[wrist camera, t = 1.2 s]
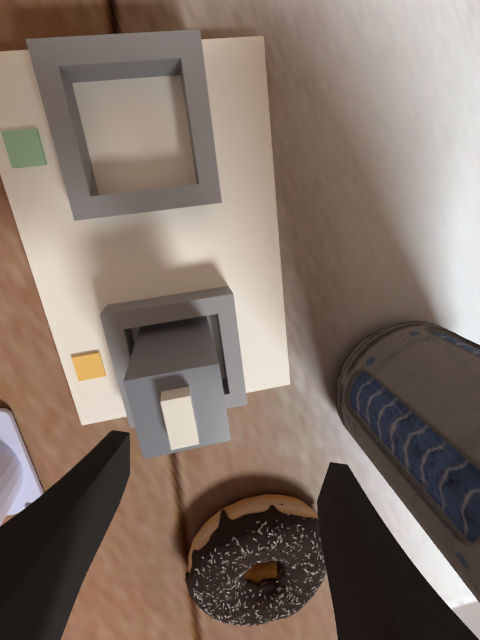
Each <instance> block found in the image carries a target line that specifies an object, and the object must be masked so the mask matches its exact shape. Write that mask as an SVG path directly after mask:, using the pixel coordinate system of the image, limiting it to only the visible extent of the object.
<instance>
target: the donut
mask: <svg viewBox="0 0 480 640" xmlns="http://www.w3.org/2000/svg"><path fill="white" fill-rule="evenodd" d="M317 514H318V513H317ZM317 514H316V513H315V512H314V510H313V509H312V508H311V507H309V506H308V505H307V504H305V503H304V502H303V501H301V500H299V499H297V498H295V497H290V496H284V495H274V494H264V495H259V496H255V497H250V498H245V499H242V500H240V501H238V502H236V503H233V504H231V505H229V506H227V507H225V508H222V509H221V510H220V511H218V512H217V513H216V514H215V515H213V516H212V517H211V518H210V519H208V520H207V521H206V522H205V523H204V525H203V526H202V527H201V529H200V530H199V532H198V533H197V534H196V536H195V537H194V539H193V542H192V545H191V548H190V552H189V556H188V570H189V572H187V573H186V578H185V580H186V583H187V587H188V591H189V595H190V597H191V598H192V600H193V601H194V602H195V604H196V605H197V606H198V607H199V608H200V609H201V611H204V612H205V613H206V614H208V615H209V616H210V617H211V618H213V619H216V620H217V621H220V622H223V623H224V624H225V623H229V624H232V625H236V626H237V625H245V626H251V625H257V624H258V625H257V626H259V624H265V623H268V622H271V621H276V620H277V621H278V619H281V618H284V617H285V618H286V617H290V616H291V615H293V614H295V613H297V612H298V611H300V610H301V609H302V607H304V605H305V604H306V603H307V602H308V601H309V600H310V599H311V597H312V596H313V595H314V594H315V593H316V592H317V590H318V588H319V586H320V584H321V583H322V582H323V581H324V577H325V574H326V565H325V560H324V555H323V549H322V544H321V538H320V532H319V521H318V515H317Z"/></svg>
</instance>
